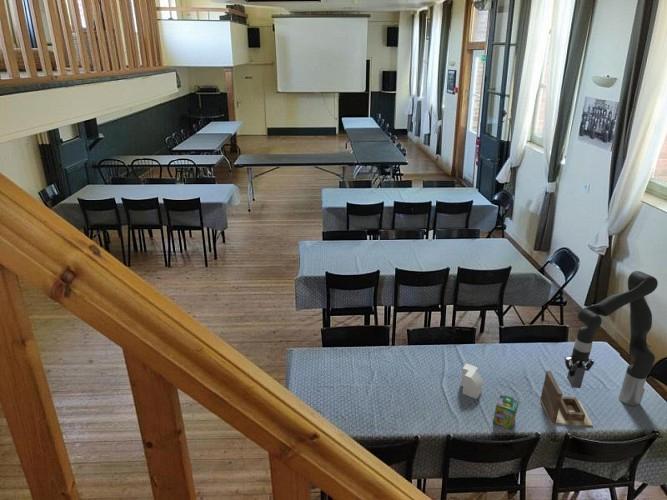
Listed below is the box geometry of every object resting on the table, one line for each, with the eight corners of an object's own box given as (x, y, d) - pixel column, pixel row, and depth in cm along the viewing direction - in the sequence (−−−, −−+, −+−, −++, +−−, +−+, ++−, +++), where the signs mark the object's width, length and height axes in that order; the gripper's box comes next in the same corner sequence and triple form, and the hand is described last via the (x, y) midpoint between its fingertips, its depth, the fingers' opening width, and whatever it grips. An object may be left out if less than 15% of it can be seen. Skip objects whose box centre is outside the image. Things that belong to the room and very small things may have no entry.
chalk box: (492, 423, 243) (496, 399, 237) (497, 412, 250) (501, 389, 244) (511, 430, 239) (516, 406, 233) (515, 419, 246) (520, 395, 240)
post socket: (579, 402, 257) (586, 372, 250) (592, 426, 241) (601, 396, 233) (540, 399, 259) (546, 370, 252) (551, 424, 242) (558, 393, 235)
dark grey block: (575, 378, 249) (579, 358, 244) (580, 388, 242) (585, 368, 237) (566, 377, 249) (571, 358, 245) (572, 387, 242) (577, 367, 237)
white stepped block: (463, 380, 273) (466, 363, 269) (483, 388, 267) (486, 370, 263) (456, 391, 265) (458, 373, 261) (476, 399, 259) (479, 381, 255)
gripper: (594, 344, 240) (587, 372, 247) (564, 342, 241) (558, 370, 248) (600, 352, 233) (592, 381, 240) (569, 350, 234) (563, 379, 241)
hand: (575, 375), depth 244 cm, fingers closed on dark grey block, 4 cm apart
